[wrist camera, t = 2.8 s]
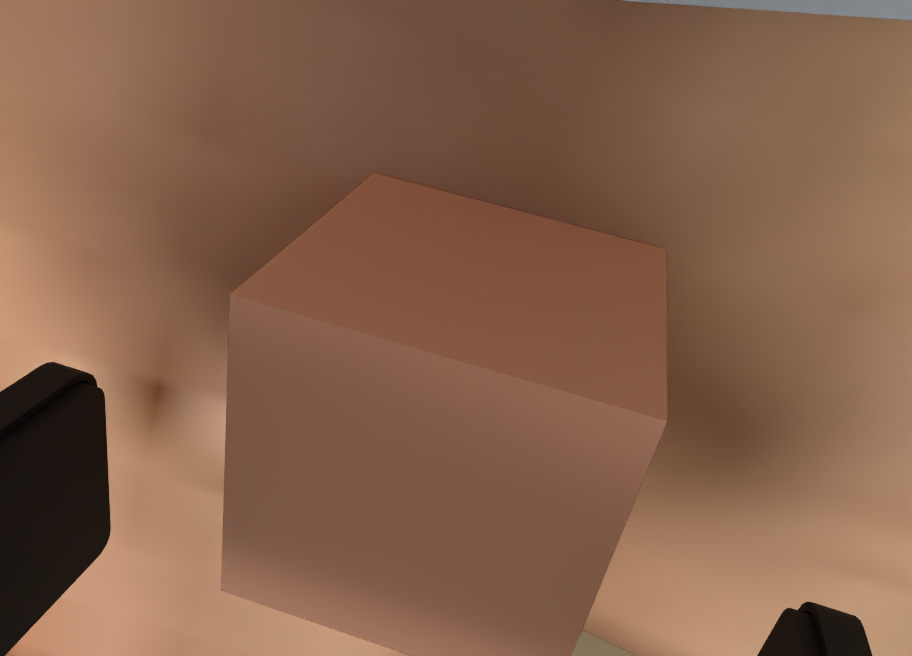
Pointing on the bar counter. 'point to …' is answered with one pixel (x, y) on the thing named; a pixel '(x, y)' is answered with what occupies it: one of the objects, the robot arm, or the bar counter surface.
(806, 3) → the slate block
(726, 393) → the bar counter surface
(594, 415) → the terracotta block
